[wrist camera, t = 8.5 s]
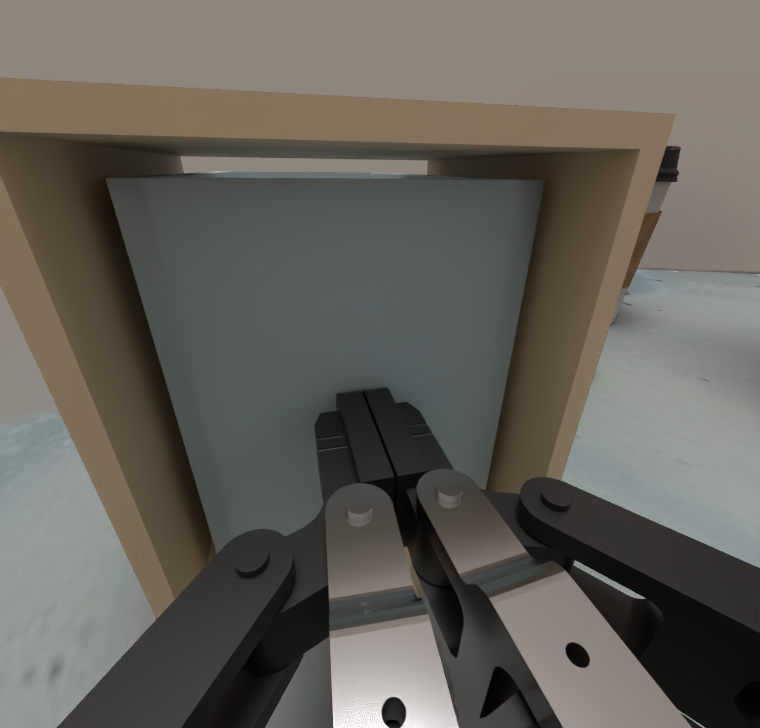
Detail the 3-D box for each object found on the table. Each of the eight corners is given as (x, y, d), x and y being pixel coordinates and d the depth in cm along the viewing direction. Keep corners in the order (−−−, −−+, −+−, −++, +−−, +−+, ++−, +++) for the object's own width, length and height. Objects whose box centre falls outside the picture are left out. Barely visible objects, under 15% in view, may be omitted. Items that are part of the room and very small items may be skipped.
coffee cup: (644, 319, 37) (707, 145, 30) (600, 338, 33) (661, 140, 26) (566, 298, 43) (603, 148, 36) (520, 311, 39) (552, 145, 32)
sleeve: (422, 397, 24) (440, 145, 18) (532, 570, 14) (676, 113, 7) (224, 423, 21) (160, 138, 15) (175, 660, 11) (-101, 72, 5)
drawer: (375, 339, 30) (376, 172, 25) (480, 518, 15) (544, 180, 9) (252, 350, 28) (222, 171, 23) (222, 572, 13) (105, 177, 7)
